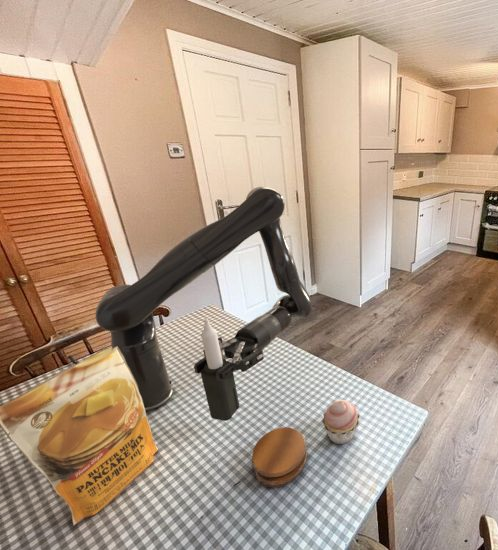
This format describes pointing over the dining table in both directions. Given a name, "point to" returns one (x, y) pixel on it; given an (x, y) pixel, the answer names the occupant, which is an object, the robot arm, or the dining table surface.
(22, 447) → the pancake mix bag
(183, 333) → the dining table surface
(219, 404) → the candle
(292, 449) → the coaster pile
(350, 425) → the cupcake
